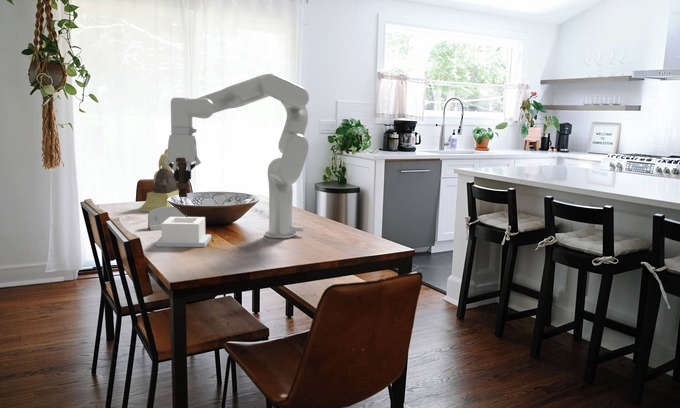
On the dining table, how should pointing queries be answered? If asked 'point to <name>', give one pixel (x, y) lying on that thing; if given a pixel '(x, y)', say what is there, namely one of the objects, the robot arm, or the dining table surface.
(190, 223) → the socket post
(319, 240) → the dining table surface
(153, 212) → the grey arched bracket
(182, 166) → the bolt
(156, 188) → the yellow and brown statue
